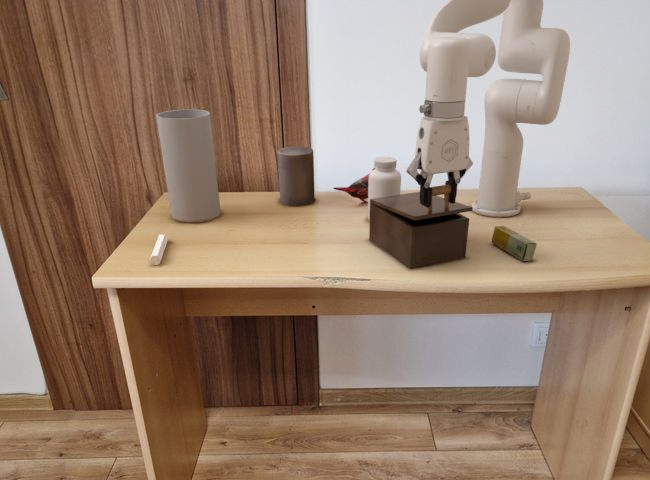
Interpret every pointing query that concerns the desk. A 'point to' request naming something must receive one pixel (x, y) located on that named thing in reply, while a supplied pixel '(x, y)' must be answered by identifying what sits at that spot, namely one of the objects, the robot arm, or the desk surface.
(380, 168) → the pill bottle
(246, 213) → the desk surface
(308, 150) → the pillar candle
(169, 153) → the cylinder vase
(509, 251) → the medication box
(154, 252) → the white rectangular bar
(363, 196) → the decorative bird figurine
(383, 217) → the chest
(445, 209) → the lid
